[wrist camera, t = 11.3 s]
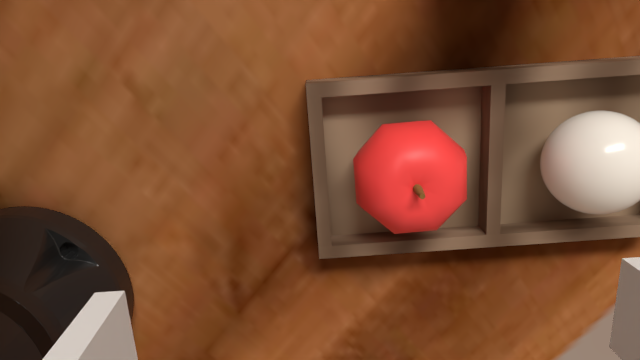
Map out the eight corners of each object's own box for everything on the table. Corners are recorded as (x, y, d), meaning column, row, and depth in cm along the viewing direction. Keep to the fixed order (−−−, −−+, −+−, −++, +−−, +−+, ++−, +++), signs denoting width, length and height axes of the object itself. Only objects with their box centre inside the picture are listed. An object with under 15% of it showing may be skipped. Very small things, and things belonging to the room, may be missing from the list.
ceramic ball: (521, 198, 37) (566, 234, 31) (526, 107, 35) (575, 124, 29) (612, 191, 37) (678, 226, 30) (622, 100, 35) (695, 116, 28)
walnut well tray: (318, 245, 39) (319, 258, 36) (306, 80, 35) (305, 83, 33) (645, 222, 39) (667, 235, 36) (668, 53, 35) (694, 55, 32)
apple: (374, 228, 38) (390, 278, 30) (328, 140, 36) (331, 169, 28) (469, 183, 37) (510, 222, 29) (426, 89, 35) (458, 105, 27)
